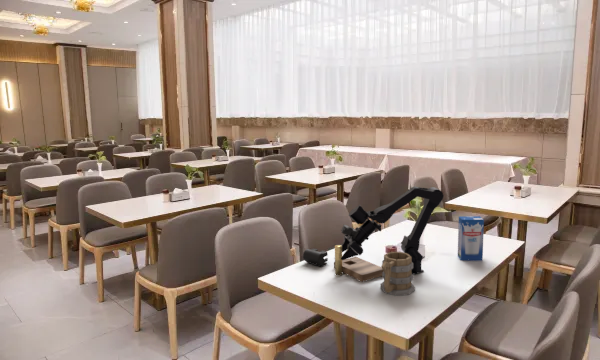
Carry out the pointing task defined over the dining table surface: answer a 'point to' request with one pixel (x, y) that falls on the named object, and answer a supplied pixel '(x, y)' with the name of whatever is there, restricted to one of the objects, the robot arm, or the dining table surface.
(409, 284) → the tankard
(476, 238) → the milk carton
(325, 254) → the end cap
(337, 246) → the peg
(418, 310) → the dining table surface
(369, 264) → the hole block
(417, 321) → the dining table surface
